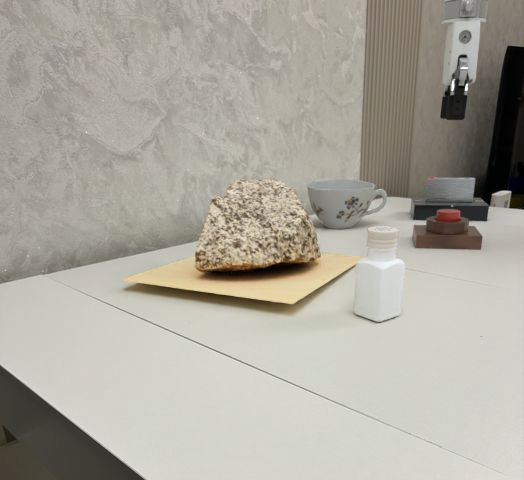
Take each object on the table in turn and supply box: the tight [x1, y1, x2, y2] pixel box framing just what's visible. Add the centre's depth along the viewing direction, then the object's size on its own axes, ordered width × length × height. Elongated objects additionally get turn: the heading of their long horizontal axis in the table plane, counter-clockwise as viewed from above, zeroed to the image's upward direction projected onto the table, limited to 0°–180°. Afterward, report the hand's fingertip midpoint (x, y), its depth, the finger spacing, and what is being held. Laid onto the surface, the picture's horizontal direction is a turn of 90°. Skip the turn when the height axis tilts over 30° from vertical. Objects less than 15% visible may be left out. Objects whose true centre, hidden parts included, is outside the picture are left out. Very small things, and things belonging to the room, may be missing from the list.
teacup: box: [306, 178, 388, 230], centre depth 104 cm, size 15×12×8 cm
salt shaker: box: [353, 225, 406, 323], centre depth 58 cm, size 4×4×10 cm
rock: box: [120, 178, 365, 305], centre depth 76 cm, size 28×22×16 cm
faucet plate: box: [409, 196, 490, 222], centre depth 112 cm, size 14×13×3 cm
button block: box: [412, 216, 484, 251], centre depth 90 cm, size 10×8×4 cm
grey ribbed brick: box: [425, 175, 476, 202], centre depth 110 cm, size 9×2×5 cm, turn 79°
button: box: [436, 209, 460, 222], centre depth 89 cm, size 4×4×2 cm
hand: (451, 119), depth 104 cm, fingers open, 9 cm apart
